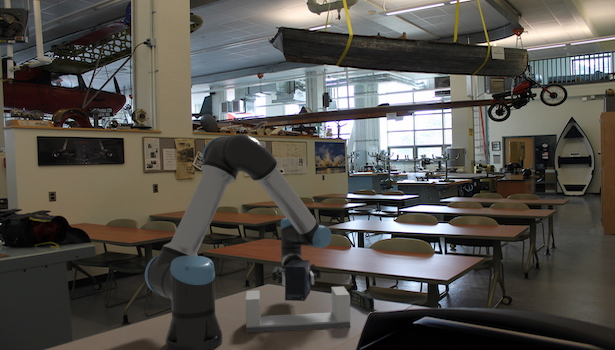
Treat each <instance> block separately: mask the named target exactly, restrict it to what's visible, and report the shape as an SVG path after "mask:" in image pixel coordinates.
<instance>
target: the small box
mask: <svg viewBox="0 0 615 350" xmlns="http://www.w3.org/2000/svg"><path fill="white" fill-rule="evenodd" d="M310 265H311V263H310V260H307V259H306V260H305V259H303V260H291V261H290V262H289V263H288V264H287V265H286V266H285V286H284V289H285V290H284V301H290V302H291V301H293V302H294V301H295V302H296V301H297V302H305V301H306V300H307V298H308V297H309V295H310V293H311V282H310V279H309V271H310Z"/></svg>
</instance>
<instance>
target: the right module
mask: <svg viewBox="0 0 615 350" xmlns="http://www.w3.org/2000/svg"><path fill="white" fill-rule="evenodd" d="M331 312H332V313H333V315H334V317H335V319H336V321H337V322H344V321H350V322H351V302H350V292H349V291H347V288H345V286H344V285H343V286H331Z"/></svg>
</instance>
